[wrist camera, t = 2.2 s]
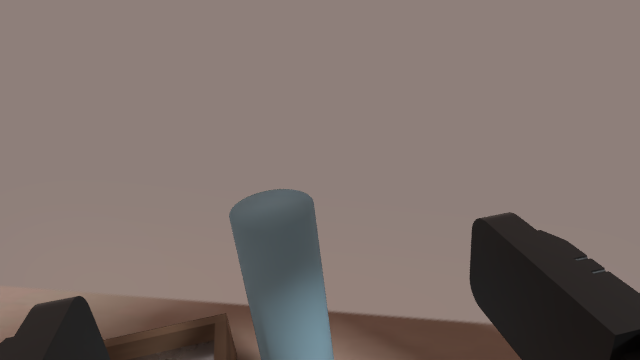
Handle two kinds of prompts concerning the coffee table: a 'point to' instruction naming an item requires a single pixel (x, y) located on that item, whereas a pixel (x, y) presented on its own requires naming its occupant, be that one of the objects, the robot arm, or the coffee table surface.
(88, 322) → the robot arm
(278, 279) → the blue-grey painted peg
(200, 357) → the grey metal bore plate
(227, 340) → the walnut crate
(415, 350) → the coffee table surface
